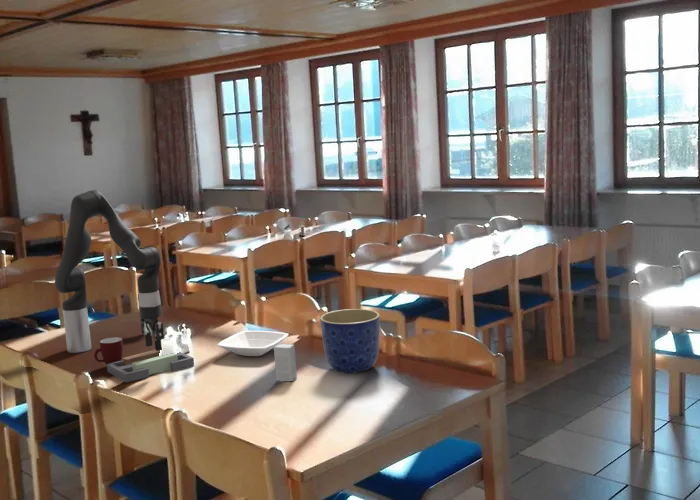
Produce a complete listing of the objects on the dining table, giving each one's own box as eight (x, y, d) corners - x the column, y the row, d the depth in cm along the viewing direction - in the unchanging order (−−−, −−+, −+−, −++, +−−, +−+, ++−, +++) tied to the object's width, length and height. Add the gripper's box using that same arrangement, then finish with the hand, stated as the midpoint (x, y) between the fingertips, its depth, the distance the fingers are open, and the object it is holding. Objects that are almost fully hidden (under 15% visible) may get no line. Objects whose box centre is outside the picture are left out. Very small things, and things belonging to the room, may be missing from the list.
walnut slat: (124, 371, 299) (122, 358, 298) (162, 360, 309) (161, 347, 309) (128, 373, 296) (127, 359, 295) (167, 362, 307) (166, 349, 306)
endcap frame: (107, 371, 298) (106, 363, 298) (173, 356, 314) (172, 348, 313) (126, 382, 284) (125, 374, 284) (194, 365, 300) (193, 357, 299)
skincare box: (297, 378, 279) (294, 344, 277) (292, 382, 275) (290, 347, 273) (280, 377, 281) (278, 343, 279) (275, 381, 277) (273, 347, 275)
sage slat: (133, 376, 292) (132, 363, 291) (173, 365, 302) (172, 352, 301) (138, 378, 289) (136, 364, 288) (178, 367, 299) (177, 354, 299)
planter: (394, 366, 287) (391, 313, 284) (354, 382, 272) (351, 326, 269) (351, 356, 301) (348, 306, 298) (310, 371, 286) (307, 318, 283)
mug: (100, 372, 298) (97, 346, 296) (92, 367, 304) (89, 341, 303) (128, 366, 304) (125, 340, 302) (120, 361, 310) (117, 336, 309)
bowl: (213, 360, 306) (211, 345, 305) (243, 343, 327) (242, 329, 326) (266, 364, 297) (265, 349, 296) (294, 346, 318) (293, 332, 317)
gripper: (131, 302, 295) (136, 346, 298) (148, 308, 284) (152, 354, 286) (151, 298, 299) (155, 342, 302) (168, 304, 288) (172, 350, 291)
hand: (153, 348), depth 294 cm, fingers open, 7 cm apart
